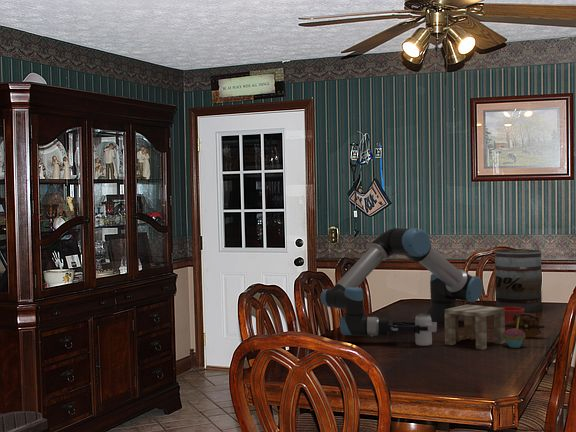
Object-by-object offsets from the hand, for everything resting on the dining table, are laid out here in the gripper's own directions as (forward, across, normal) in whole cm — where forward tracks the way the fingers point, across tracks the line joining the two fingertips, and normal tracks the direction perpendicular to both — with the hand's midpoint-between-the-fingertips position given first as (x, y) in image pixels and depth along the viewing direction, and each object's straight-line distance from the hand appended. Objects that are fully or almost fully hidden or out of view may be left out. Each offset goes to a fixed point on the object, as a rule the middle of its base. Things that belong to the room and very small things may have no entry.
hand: (436, 327), depth 314 cm
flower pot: (+31, -35, -7) cm, 47 cm away
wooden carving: (+36, -19, -7) cm, 41 cm away
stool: (+15, -4, -7) cm, 17 cm away
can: (-5, 0, -7) cm, 9 cm away
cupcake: (+30, +1, -7) cm, 31 cm away
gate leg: (+11, -9, -7) cm, 16 cm away
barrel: (+39, -95, -8) cm, 103 cm away
